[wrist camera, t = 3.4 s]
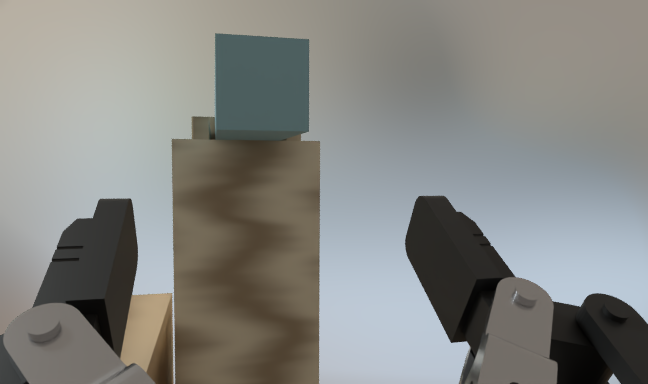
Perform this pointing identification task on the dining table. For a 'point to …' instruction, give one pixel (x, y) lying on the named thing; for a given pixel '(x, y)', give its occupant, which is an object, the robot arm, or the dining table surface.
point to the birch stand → (245, 259)
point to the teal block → (261, 87)
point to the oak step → (150, 336)
